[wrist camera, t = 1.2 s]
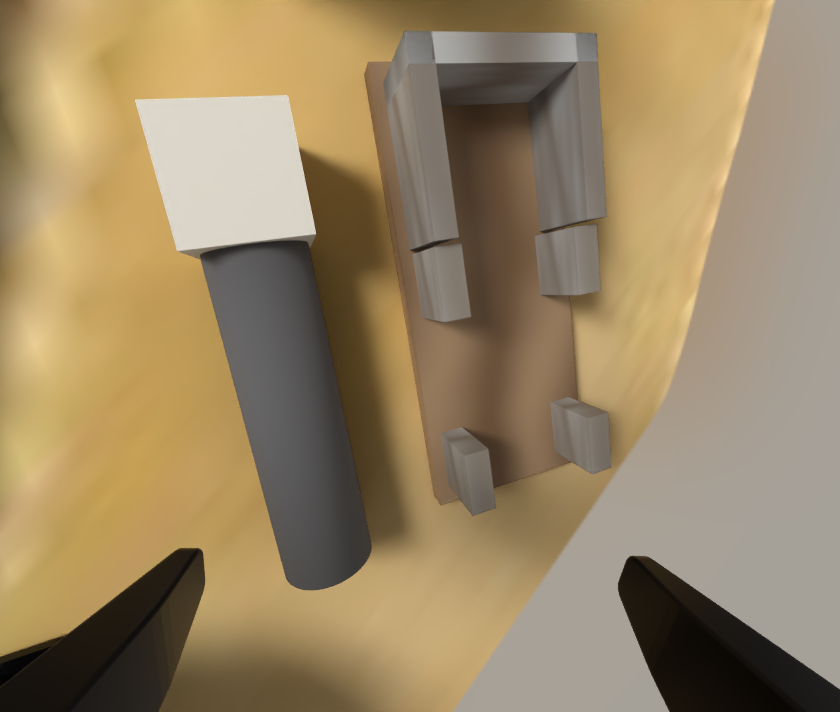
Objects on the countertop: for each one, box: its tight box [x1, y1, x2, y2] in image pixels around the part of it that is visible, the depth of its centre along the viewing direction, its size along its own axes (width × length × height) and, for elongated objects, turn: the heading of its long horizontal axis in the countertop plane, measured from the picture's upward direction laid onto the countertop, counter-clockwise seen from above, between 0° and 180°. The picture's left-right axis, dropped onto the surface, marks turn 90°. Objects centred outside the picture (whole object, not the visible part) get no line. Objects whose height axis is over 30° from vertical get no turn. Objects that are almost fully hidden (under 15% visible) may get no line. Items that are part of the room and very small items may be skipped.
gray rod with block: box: [135, 95, 371, 590], centre depth 16 cm, size 18×4×4 cm, turn 9°
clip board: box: [364, 31, 611, 516], centre depth 19 cm, size 9×21×4 cm, turn 9°
